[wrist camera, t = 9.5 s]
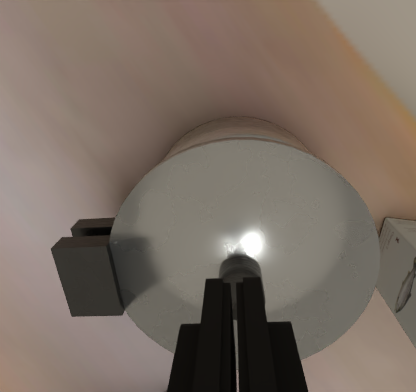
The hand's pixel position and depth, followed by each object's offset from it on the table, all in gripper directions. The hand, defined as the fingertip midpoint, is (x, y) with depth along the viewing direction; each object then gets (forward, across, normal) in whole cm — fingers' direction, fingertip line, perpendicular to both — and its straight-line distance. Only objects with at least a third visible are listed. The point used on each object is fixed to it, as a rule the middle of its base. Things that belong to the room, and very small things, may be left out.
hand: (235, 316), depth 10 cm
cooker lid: (+13, +2, +6) cm, 14 cm away
